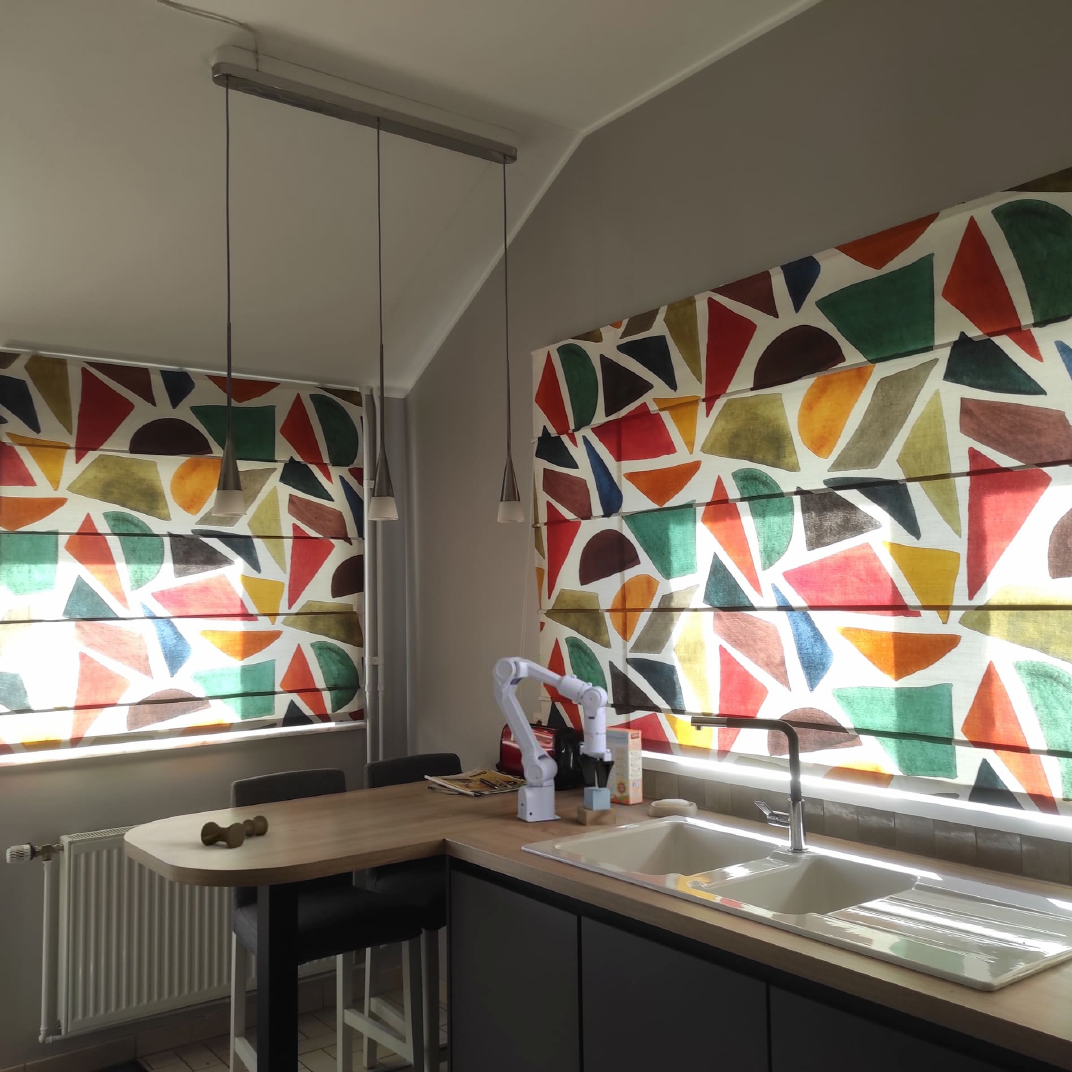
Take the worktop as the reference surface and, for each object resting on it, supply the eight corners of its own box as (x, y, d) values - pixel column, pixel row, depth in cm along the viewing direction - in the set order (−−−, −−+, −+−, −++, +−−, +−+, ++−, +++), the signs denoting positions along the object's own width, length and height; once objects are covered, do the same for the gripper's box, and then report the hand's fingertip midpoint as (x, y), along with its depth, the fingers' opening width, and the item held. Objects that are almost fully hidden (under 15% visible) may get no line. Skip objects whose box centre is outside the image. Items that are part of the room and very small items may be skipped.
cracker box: (643, 803, 284) (642, 729, 286) (629, 806, 280) (627, 731, 282) (609, 796, 295) (608, 725, 297) (594, 799, 291) (593, 727, 293)
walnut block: (586, 827, 254) (586, 811, 254) (577, 821, 262) (577, 805, 262) (615, 825, 256) (615, 809, 257) (605, 819, 264) (605, 804, 264)
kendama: (276, 838, 247) (218, 853, 229) (247, 836, 251) (187, 851, 233) (277, 813, 247) (218, 827, 229) (247, 812, 252) (187, 824, 234)
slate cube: (593, 810, 256) (593, 790, 256) (584, 807, 260) (584, 787, 261) (610, 808, 258) (609, 789, 258) (601, 805, 262) (600, 786, 263)
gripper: (621, 735, 256) (622, 788, 255) (596, 729, 269) (596, 780, 268) (597, 736, 253) (597, 790, 252) (572, 731, 266) (573, 782, 265)
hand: (595, 785), depth 260 cm, fingers open, 7 cm apart
